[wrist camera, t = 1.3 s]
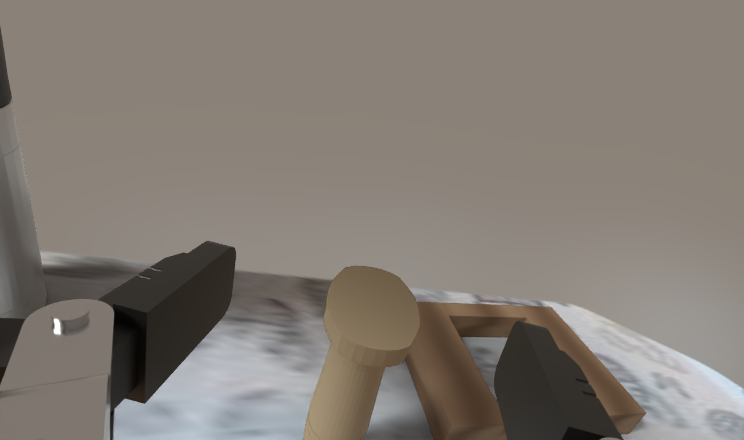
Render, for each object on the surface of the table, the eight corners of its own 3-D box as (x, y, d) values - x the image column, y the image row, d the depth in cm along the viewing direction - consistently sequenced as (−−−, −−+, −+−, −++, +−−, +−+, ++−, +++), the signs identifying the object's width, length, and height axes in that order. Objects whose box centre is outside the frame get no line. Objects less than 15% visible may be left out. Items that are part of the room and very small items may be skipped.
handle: (356, 428, 30) (410, 274, 23) (356, 524, 24) (428, 357, 17) (294, 420, 29) (332, 259, 22) (279, 517, 23) (323, 341, 17)
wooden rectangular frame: (438, 451, 30) (451, 427, 28) (391, 322, 42) (398, 301, 40) (628, 433, 36) (646, 412, 35) (540, 325, 48) (551, 307, 46)
